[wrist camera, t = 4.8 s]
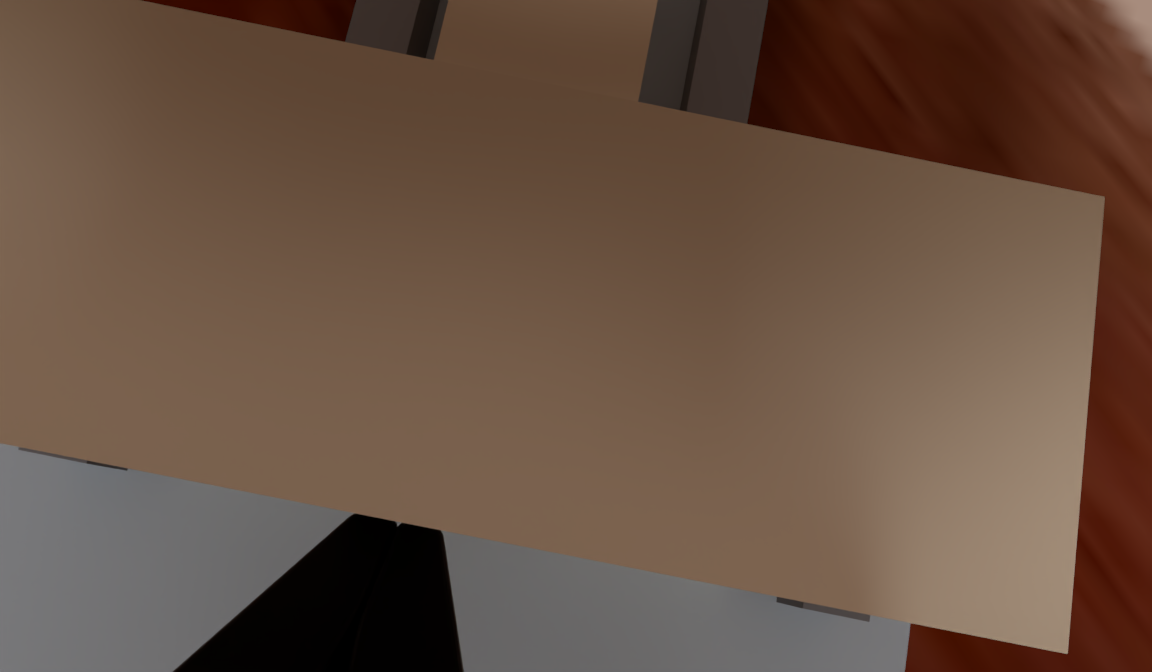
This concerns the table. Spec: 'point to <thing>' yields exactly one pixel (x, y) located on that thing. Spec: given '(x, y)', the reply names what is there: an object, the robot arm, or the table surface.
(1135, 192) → the table surface
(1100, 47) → the table surface
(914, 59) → the table surface
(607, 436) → the t block
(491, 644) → the t bay
